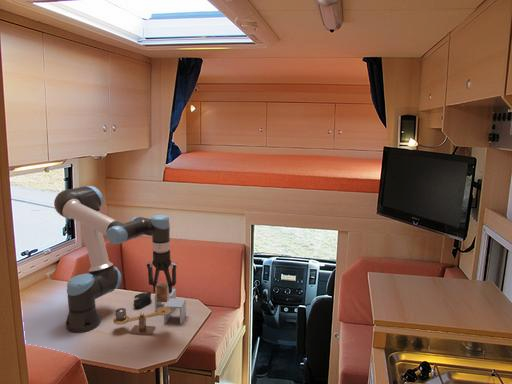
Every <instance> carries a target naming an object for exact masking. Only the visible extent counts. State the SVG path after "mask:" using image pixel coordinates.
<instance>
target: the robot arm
mask: <svg viewBox="0 0 512 384" xmlns="http://www.w3.org/2000/svg"><path fill="white" fill-rule="evenodd" d="M53 203H54V204H53V205H54V209H55V211H56V213H57V214H59V215H60V216H62V217H63V218H64V219H65V218H66V220H74V221H76V222H79V223H80V227H81V229H82V234H83V238H84V242H85V243H84V244H85V246H86V251H87V254H88V259H89V263H90V267H89V269H88V273H82V274H78V275H75V276H73V277H71V278H70V279H69V280H68V281H67V284H66V288H67V289H66V293H67V304H68V306H67V307H68V313H67V317H66V321H65V329H66V330H67V331H68V332H71V333H85V332H89V331H92V330H94V329H95V328H97V327H99V326H100V324H101V316H100V314H99V311H98V310H97V307H96V300H97V299H98V298H100V297H101V298H102V296H105V295H107V294H109V293H113V292H114V291H115V290H116V289H118V288H119V287H120V285H121V283H122V272H121V271H120V270H119V268H118V267H116V266H115V265H114V263H113V262H111V261H110V259H109V255H108V251H107V247H106V244H105V238H104V236H106V240H108V241H109V243H110V244H111V245H119V244H123V243H125V242H128V241H131V240H133V239H136V238H138V237H141V236H149V237H151V238H152V239H151V240H152V241H151V242H152V261H151V262H148V263H147V264H146V268H147V272H148V273H147V274H148V285H149V286H152V287H153V289H152V290H153V291H152V292H153V293H154V294H156V287H157V286H158V284H159V283H158V281H159V275H160V271H162V272H163V274H164V276H165V280H166V284H168V286H167V301H169V300H170V293H172V289H173V287H174V286H176V284H177V267H178V263H176V262H175V263H173V262H172V260H171V241H170V231H171V230H170V228H171V227H170V219H169V217H168V216H167V215H166V214H165V215H164V214H162V215H161V214H158V215H153V216H152V217H151V218H148V217H143V216H134V217H132V219H131V220H130V221H127V222H125V223H124V222H121V221H118V220H116V219H114V218H112V217H110V216H108V215H106V214H103V213H101V207H102V205H103V203H104V198H103V194H102V192H101V191H100V190H99V189H98V187H95V186H93V185H85V186H84V185H83V186H79V187H75V188H70V189H69V188H68V189H65V190H62V191H60V192H59V193H58V194H56V196H55V199H54V201H53ZM153 266H154V268H155V272H154V274H153V269H154V268H153ZM170 268H171V274H170ZM156 300H157V296H156Z"/></svg>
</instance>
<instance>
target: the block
mask: <svg viewBox="0 0 512 384" xmlns="http://www.w3.org/2000/svg"><path fill="white" fill-rule="evenodd" d="M157 284H158V286H157V287H156V293H155V294H156V296H157V302H162V303H166V302H167V286H168V283H167V282H166V283H165V282H164V283H157Z"/></svg>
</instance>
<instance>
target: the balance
mask: <svg viewBox="0 0 512 384" xmlns="http://www.w3.org/2000/svg"><path fill="white" fill-rule="evenodd" d="M155 311H156V312H155ZM169 313H171V308H170V307H167V306H164V305H163V306H160V307H159V308H157V309H156V310H155V309H154V312H152V313H148V314H145V312H143V311H142V312H140V313H139V315H138V316H134V317H133V316H132V317H129V316H128V315H127V309H126V308H124V307H120V308H116V309H115V317H114V318H113V324H115V325H124V324H127V323H129V322H134V321H138V324H136V325H134V326H133V327H132V328H131V330H130V331H129V334H130V335H141V336H144V335H145V336H152V335H153V333H154V332H153V331H155V330H156V326H155V325H147V319H148V318H152V317H157V316H164V315H167V314H169ZM171 314H172V313H171Z"/></svg>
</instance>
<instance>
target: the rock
mask: <svg viewBox="0 0 512 384" xmlns="http://www.w3.org/2000/svg"><path fill="white" fill-rule="evenodd" d="M151 295H152V292H151V291H148V292H142V293H141V292H140V293H138V294H136V295H134V297H133V298H134V299H133V306H134V308H135V309H136V308H138V309H141V308H144V307H146V306H148V305H149V304H151V302H152V296H151Z"/></svg>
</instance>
